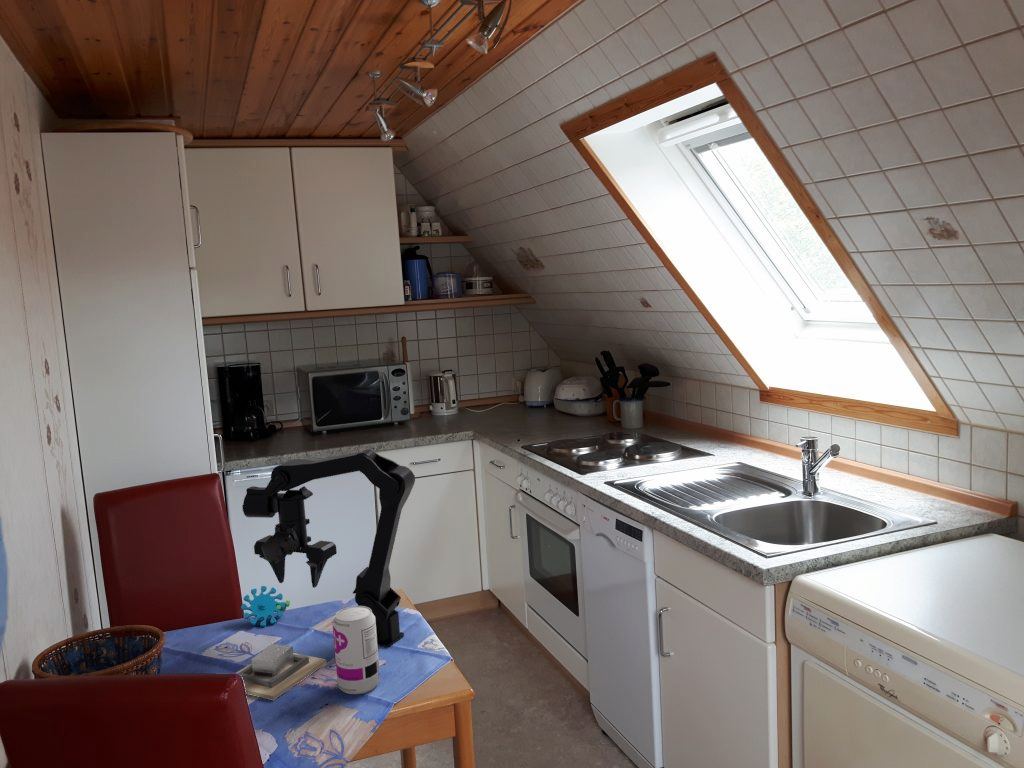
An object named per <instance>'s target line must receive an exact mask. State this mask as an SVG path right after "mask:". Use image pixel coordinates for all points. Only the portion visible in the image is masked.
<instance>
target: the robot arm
mask: <svg viewBox="0 0 1024 768" xmlns="http://www.w3.org/2000/svg"><path fill="white" fill-rule="evenodd" d="M354 472H355V473H356V472H360V473H361V474H363V475H364V476H365V477H366V479H368V481H369V482H370V483H371V484H372V485H373V486H375V487H377V488H378V489H379V491H378V493H379V494H378V496H379V497H378V499H379V504H380V514H379V517H378V521H377V528H376V531H375V535H374V540H373V545H372V549H371V554H370V559H369V564H368V566H366V567H365V568H363V570H362V571H361V572H360V573H359V574H358V575H357V576H356V579H355V587H354V590H353V592H352V594H355V596H354V602H355V603H356V605H357V606H365V607H368V608H370V609H371V610H372V613H373V614H374V616H375V620H376V633H377V646H380V647H386V648H388V647H391V646H392V645H393V644H395V643H396V642H397V641H398V640H401V639H402V637H404V636H405V632H402V631H401V632H400V619H399V618H400V615H399V611H398V610H396V609H397V608H398V606H399V605H400V602H401V599H402V597H401V595H399V594H398V593H397V592H396V591H395V590H394V589H393V588H392V587H391V573H390V563H391V559H392V555H393V550H394V545H395V541H396V537H397V532H398V528H399V527H398V526H399V523H400V519H401V515H402V514H401V513H402V510H403V507H404V506H405V504H406V502H407V500H408V499H409V497H410V495H411V492H412V490H413V488H414V486H415V482H416V476H415V473H413V471H412V470H411V469H410V467H408V466H404V465H401V464H399V463H397V461H394V460H391V459H389V458H387V457H385V456H382V455H380V454H378V453H377V452H375V451H374V450H371V449H370V448H368V449H367V448H366V449H363V450H361V451H357V452H352V453H347V454H341V455H337V456H331V457H325V458H321V459H314V460H311V459H306V458H302V459H301V458H300V459H298V458H297V459H296V458H295V459H293V458H292V459H288V460H286V461H285V462H283V463H280V464H279V465H276V466H274V467H273V469H272V470H271V472H270V473H271V474H270V480H269V482H268V483H267V485H266V486H265V487H263V486H262V487H260V486H259V487H258V486H255V485H254V486H249V487H248V488H246V491H245V492H246V494H245V496H244V499H243V503H242V505H241V506H242V512H243V514H244V515H243V516H245V517H246V518H266V519H267V518H268V519H269V518H274V517H275V515H276V514H278V523H276V524H275V526H274V534H273V535H272V534H271V535H270V534H269V535H266V536H264V537H262V538H260V539H258V540H256V542H254V545H253V549H254V550H253V551H254V555H257V556H258V557H259V558H260V559H263V560H265V561H267V562H268V564H269V565H270V567H271V569H272V570H273V572H274V574H275V577H276V578H277V581H278V583H279V584H282V583H284V582H285V571H286V557H287V556H292V554H293V553H299V554H305V557H306V558H307V561H306V562H305V563H306V564H307V565H308V566H309V569H310V579H311V580H310V581H311V585H312V588H316V587H318V585H319V581H320V579H321V577H322V573H323V571H324V569H325V566H326V564H327V561H328V560H329V559H330V558H332V557H333V556H335V555H336V554H337V546H336V544H335V542H333V541H327V540H319V541H317V542H315V543H313V544H309V543H310V542H312V536H308V531H307V529H308V528H307V526H308V525H309V524H310V523H311V522H310V518H306V509H305V508H306V507H305V501H306V500H307V499H309V498H310V497H312V496H313V495H314V493H313V492H312V491H311V490H310V489H308V488H307V487H306V486H302V485H304V484H306V483H309V482H312V481H314V480H319V479H325V478H330V477H334V476H339V475H346V474H350V473H354ZM299 486H301V487H300V488H299V489H294V488H297V487H299ZM279 492H280V493H279ZM283 492H284V493H283Z"/></svg>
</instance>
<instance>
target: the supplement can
mask: <svg viewBox="0 0 1024 768" xmlns="http://www.w3.org/2000/svg"><path fill="white" fill-rule="evenodd" d="M332 632H333V633H332V634H333V644H334V645H333V646H334V656H335V658H334V659H335V669H336V670H335V671H336V682H337V687H338V690H340V691H342V692H343V693H346V694H349V695H361V694H366V693H368V692H371V691H373V690H374V689H375V688H377V685H378V684H379V683H380V681H381V678H380V677H381V675H380V661H379V649H378V648H379V647H378V645H377V633H376V620H375V616H374V614H373V613H372V610H371V609H370V608H368V607H365V606H358V605H353V606H348V607H344V608H342V609H339V610H338V611H336V613H335V615H334V618H333V620H332Z"/></svg>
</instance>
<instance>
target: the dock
mask: <svg viewBox="0 0 1024 768" xmlns="http://www.w3.org/2000/svg"><path fill="white" fill-rule="evenodd" d="M293 657H294V665H293V666H291V667H290V668H288V669H287V670H285V671H284V672H282V673H281V674H279V675H278V676H276V677H275V678H273V679H272V680H270V679H266V678H261V677H257V676H253V670H252V662H251V663H249V664H247V665H246V666H245V667H244V668H243V667H242V668H241V669H240V670H238V671H237V672H236V673H238V674H241V675H242V677H243V680H244V683H245V688H246V692H247V695H246V696H249V695H248V693H249V694H252V695H256V696H259V697H263V698H269V699H272V700H274V699H276V698H277V697H279V696H280V695H281V694H283V693H284V692H286V691H287V690H289V689H290V688H292V687H293V686H294V685H295V684H297V683H298V682H300V681H301V680H303V679H304V678H305V677H307V676H308V675H310V674H311V673H312V672H314V671H315V670H317V669H319V668H320V667H322V666H323V667H325V666H326V665H327V659H325V658H321V657H316V656H310V655H306V654H301V653H295V652H293ZM325 664H326V665H325ZM323 667H322V668H323ZM320 669H321V668H320ZM320 669H319V670H320ZM317 671H318V670H317ZM314 673H315V672H314ZM310 676H311V675H310ZM307 678H308V677H307ZM303 681H304V680H303ZM300 683H301V682H300ZM297 685H298V684H297ZM293 688H294V687H293ZM293 688H292V689H293ZM290 690H291V689H290ZM290 690H289V691H290ZM286 693H287V692H286ZM283 695H284V694H283ZM280 697H281V696H280ZM280 697H279V698H280ZM276 700H277V699H276Z"/></svg>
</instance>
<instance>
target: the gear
mask: <svg viewBox="0 0 1024 768" xmlns="http://www.w3.org/2000/svg"><path fill="white" fill-rule="evenodd" d="M257 591H258V590H257V588H252V589H251V590H250V593H251V595H252V596H253V599H252V600H251V599H250V595H249V594H246V595H244V596H243V601H244V602H246V603H248V604H249V605H250V606H248V605H247V604H246V603H242V605H241V607H240V610H242V611H250V613H249V612H244V613H243V618H244V620H248V619H249V618H251V617H256V618H252V619H250V621H249V623H250V624H251V625H252V626H255V625H257V622H258V621H259V620H260V619H263V620H262V621H260V624H259V625H260V627H262V628H265V627H266V626H267V619H268V618H269V617H270V618H271V619H270V621H269V624H270V625H275V624H276V623H277V619H276V618H275V617H274V613H277V618H282V617H283V615H284V613H285V612H286V610H287V607H288V608H289V607H290V604H291V602H290V600H285V601H283V602H278V601H276V600H279V601H282V600H283V594H282V593H278V594H277V595H275V596H273V594H276V593H277V589H276V588H275V587H271V588H270V591H269V592H267V593H264V592H266V591H267V586H265V585H262V586H260V592H259V594H258V595H256V594H257Z"/></svg>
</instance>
